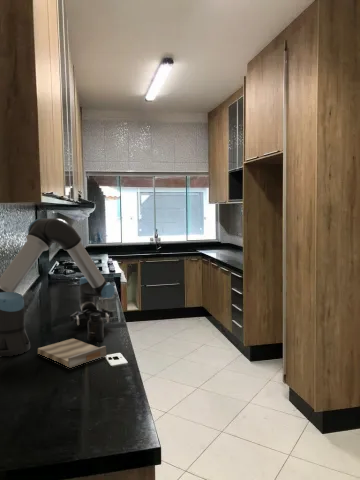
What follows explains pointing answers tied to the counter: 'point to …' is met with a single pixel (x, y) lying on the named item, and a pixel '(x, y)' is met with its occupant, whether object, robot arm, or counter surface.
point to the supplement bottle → (95, 328)
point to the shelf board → (72, 352)
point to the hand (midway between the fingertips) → (93, 320)
